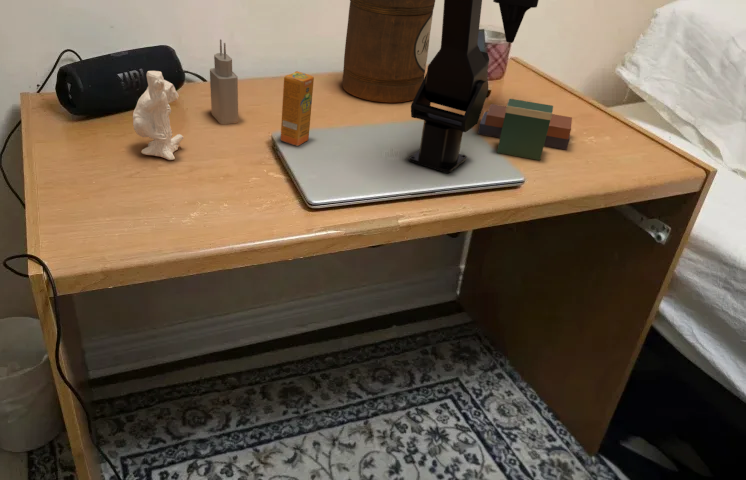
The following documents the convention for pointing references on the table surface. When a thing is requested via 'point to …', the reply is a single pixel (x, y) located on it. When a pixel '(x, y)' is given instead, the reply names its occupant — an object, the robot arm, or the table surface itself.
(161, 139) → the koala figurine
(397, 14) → the wooden container
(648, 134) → the table surface
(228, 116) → the power adapter
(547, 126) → the tea box
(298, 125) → the supplement box
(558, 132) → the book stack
